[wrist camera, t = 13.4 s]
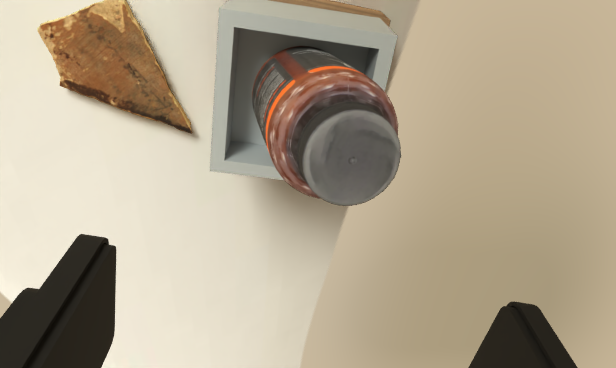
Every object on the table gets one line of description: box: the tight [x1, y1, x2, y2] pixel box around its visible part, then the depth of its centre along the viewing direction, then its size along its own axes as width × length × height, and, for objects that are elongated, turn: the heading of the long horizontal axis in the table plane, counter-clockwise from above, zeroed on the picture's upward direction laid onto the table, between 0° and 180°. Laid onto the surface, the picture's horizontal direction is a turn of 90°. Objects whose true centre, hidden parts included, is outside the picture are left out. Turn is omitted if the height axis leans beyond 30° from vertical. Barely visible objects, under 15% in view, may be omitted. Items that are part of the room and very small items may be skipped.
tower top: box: [210, 0, 398, 180], centre depth 28 cm, size 9×9×6 cm
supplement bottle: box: [252, 46, 401, 206], centre depth 23 cm, size 6×6×11 cm
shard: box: [37, 0, 192, 134], centre depth 35 cm, size 11×8×2 cm
